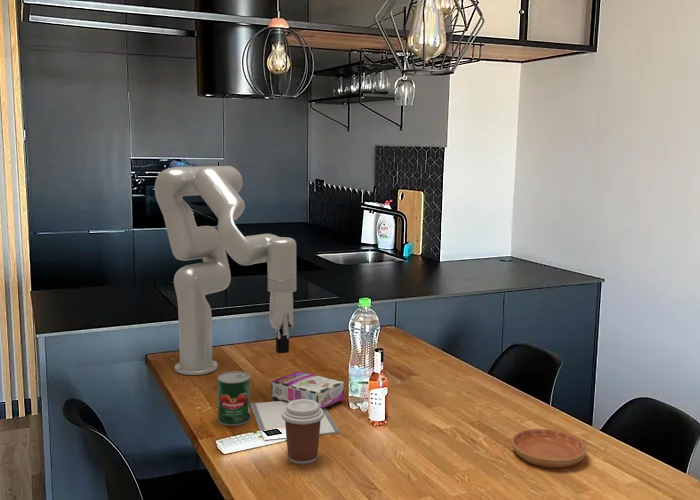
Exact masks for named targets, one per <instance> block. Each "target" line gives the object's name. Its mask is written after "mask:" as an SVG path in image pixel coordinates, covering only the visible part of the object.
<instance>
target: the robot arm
mask: <svg viewBox="0 0 700 500" xmlns="http://www.w3.org/2000/svg"><path fill="white" fill-rule="evenodd" d="M243 181H244V180H243V176H242V175H241V173H240V171H239V170H238V169H237V168H235V167H233V166H231V165H217V166H216V165H213V166H211V165H210V166H208V165H206V166H205V165H202V166H201V165H200V166H199V165H198V166H197V165H196V166H174V167H168V168H165V169H163V170H161V171H160V173H158V174H157V177H156V179H155V183H154V195H155V198H156V203H157V205H158V206H159V208H160V211H161V214H162V216H163V220H164V224H165V228H166V232H167V237H168V241H169V245H170V248H171V252H172V255H173V256H174V258H175V259H176V260H179V261H183V262H184V261H185V262H186V261H192V260H198V259H200V260H201V259H202V262H198V263H192V264H187V265H184V266H182V267H180V268H179V269H178V270H177V271H176V272H175V274H174V277H173V286H174V289H175V290H174V291H175V294H176V299H177V312H178V313H177V314H178V336H179V339H178V341H179V343H178V344H179V361H178V362H177V363H176V364H174V371H175V372H176V373H178V374H180V375H185V376H199V375H200V376H201V375H206V374H209V373H210V374H211V373H212V372H215V371H216V370H217V369H218V368H219V363H218V361H216V360H214V359H213V325H212V323H213V322H212V321H213V320H212V319H213V317H212V309H211V305H210V304H209V302H208V300H207V299H206V296H208V295H210V294H211V295H212V294H214V293H218V292H222V291H225V290H226V289H227V288H228V287H229V286H230V284H231V280H232V278H231V277H232V274H231V268H230V264H229V260H228V259H229V258H228V256H230V258H231V259H232V260H233V261H234V262H236V263H237V264H238V265H240V266H251V265H255V264H261V263H267V268H266V269H267V270H266V271H267V291H268V292H270V294H269V314H268V315H269V323H270V326H271V327H272V329H274V330H275V336H276V337H275V351H276V353H277V354H288V353H289V352H290V337H289V336H290V335H289V334H290V330H292V329H293V327H294V295H293V293H295V292H296V291H297V241H296V239H294V238H292V237H286V236H281V237H280V236H278V235H276V234H273V233H261V234H254V235H244V234H243V233H242V231H241V230H239V228H238V227H237V224H235V221H237V219H238V218H240V217H241V215H243V213H244V211H245V209H246V203H245V201H244V199H243V198H242V197H241V195H240V194H239V193H240V191H241V190H242V188H243V185H244V184H243ZM190 196H191V197H193V196H194V197H195V196H200V197H201V198H202V199H203V200H204V202H205V203H206V205H207V206H208V207H209V208H210V210H211V211H212V213H214V215H215V216H216V218H217V219H218V221H217V229H216V228H215V227H213V226H211V225H200V226H198V225H197V222H196V219H195V215H194V212H193V210H192V208H191V207H190V205H189V204H188V203H187V201H185V200H184V198H183V197H190ZM227 254H228V256H227Z"/></svg>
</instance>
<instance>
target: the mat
mask: <svg viewBox="0 0 700 500" xmlns="http://www.w3.org/2000/svg"><path fill="white" fill-rule="evenodd" d="M288 403H289V402H286V401H282V400H277V401H275V400H274V401H266V402H265V401H264V402H250V408H251V410H252V412H253V414H254V418H255V420H256V421H255V422H256V424H257V426H258V428H259V431H264V430H269V429H274V428H285V429H286V426H285V420H284V419H282V411H283V410H284V409H285V408H286V407H287V404H288ZM322 410H323V412H324V417H323V419H322V420H321V423H320V434H319V436H323V435H324V436H325V435H333V434H340V433H341V431H340V430H339V428H338V426H337V425H336V423H335V421H334V419H333V418H332V416H331V414H330V413H329V411H328V410H327V409H326V407H324V408H322Z"/></svg>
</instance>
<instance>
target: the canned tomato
mask: <svg viewBox="0 0 700 500" xmlns="http://www.w3.org/2000/svg"><path fill="white" fill-rule="evenodd" d="M217 408H218V409H217V412H218V413H217V415H218V417H217V420H218V423H219V424H221V425H224V426H228V427H230V426H231V427H236V426H242V425H245V424H247V423H249V422H250V421H251V375H250V373H248V372H245V371H237V370H236V371H228V372H227V371H226V372H222V373H221V374H219V375H218V376H217Z"/></svg>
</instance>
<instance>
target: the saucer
mask: <svg viewBox="0 0 700 500" xmlns="http://www.w3.org/2000/svg"><path fill="white" fill-rule="evenodd" d="M511 447H512V448H513V450H514V451H515V453H516V454H517V455H518V456H519V457H520V458H521V459H522V460H523V461H526V462H528V463H529V464H532V465H534V466H538V467H542V468H547V469H565V468H569V467H573V466H574V465H576V464H578V463H579V462H580V461H582V460H583V459H584V458H585V457H586V455H587V445H585V443H584V442H583V441H582V440H581V439H579V438H578V437H577V436H574V435H573V434H572V435H571V434H570V433H567V432H564V431H559V430H554V429H547V428H531V429H525V430H521V431H518V432H516V433H515V434H514V435H513V436H512V438H511Z"/></svg>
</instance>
